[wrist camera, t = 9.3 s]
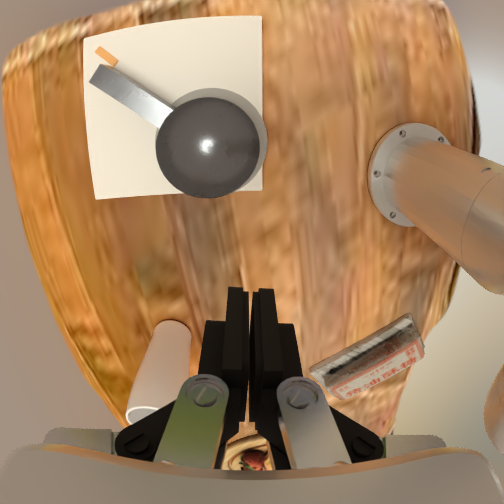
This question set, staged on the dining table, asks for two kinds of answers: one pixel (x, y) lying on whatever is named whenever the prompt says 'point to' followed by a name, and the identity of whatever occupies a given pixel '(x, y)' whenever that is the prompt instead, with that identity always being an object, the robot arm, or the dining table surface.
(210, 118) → the dial
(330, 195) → the dining table surface
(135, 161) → the dial base
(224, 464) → the wooden plate with food
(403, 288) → the dining table surface
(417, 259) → the dining table surface
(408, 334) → the packaged product
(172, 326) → the drinking glass
